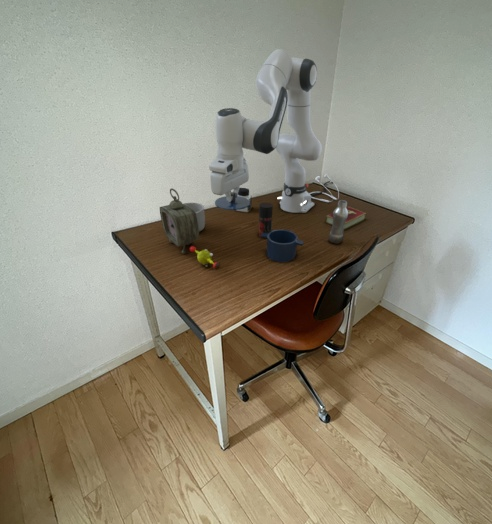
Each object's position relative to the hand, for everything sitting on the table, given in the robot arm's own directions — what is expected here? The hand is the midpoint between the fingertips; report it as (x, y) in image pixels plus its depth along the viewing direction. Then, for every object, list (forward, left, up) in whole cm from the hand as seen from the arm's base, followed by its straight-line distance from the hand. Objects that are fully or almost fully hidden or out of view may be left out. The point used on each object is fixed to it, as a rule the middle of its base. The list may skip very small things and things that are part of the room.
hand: (232, 199), depth 102 cm
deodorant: (-19, +1, -23) cm, 30 cm away
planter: (+1, -27, -23) cm, 36 cm away
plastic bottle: (-37, +29, -23) cm, 52 cm away
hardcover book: (-62, +22, -23) cm, 70 cm away
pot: (-11, +17, -23) cm, 30 cm away
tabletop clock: (+13, -17, -23) cm, 31 cm away
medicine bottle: (-33, -27, -23) cm, 49 cm away
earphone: (-83, -5, -23) cm, 86 cm away
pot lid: (0, 0, -2) cm, 2 cm away
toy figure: (+16, +1, -23) cm, 28 cm away
